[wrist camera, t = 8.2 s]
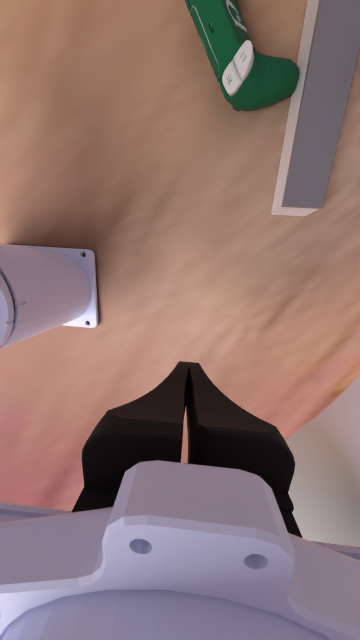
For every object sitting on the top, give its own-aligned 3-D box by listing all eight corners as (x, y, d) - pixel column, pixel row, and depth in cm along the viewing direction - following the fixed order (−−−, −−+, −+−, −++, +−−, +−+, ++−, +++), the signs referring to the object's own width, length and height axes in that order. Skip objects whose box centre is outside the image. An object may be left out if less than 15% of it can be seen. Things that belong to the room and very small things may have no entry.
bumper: (270, 214, 16) (283, 205, 14) (315, -45, 12) (342, -115, 10) (304, 216, 16) (322, 207, 14) (360, -46, 12) (397, -116, 10)
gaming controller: (213, 15, 15) (160, -24, 12) (255, -73, 12) (199, -161, 8) (259, 132, 17) (224, 128, 13) (306, 82, 14) (276, 60, 10)
